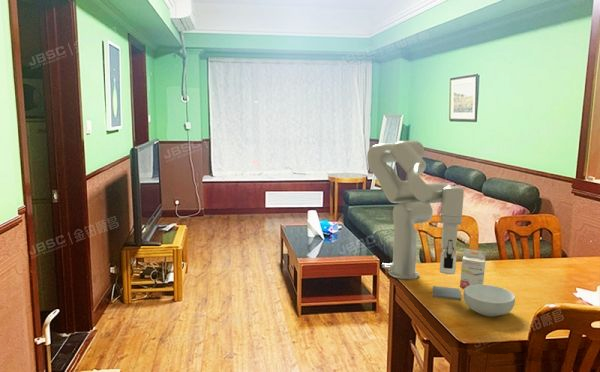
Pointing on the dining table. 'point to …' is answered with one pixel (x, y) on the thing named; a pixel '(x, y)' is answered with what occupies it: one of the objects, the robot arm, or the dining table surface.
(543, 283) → the dining table surface
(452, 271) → the eye dropper bottle
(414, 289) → the dining table surface
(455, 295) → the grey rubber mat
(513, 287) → the dining table surface
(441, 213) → the robot arm
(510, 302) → the cereal bowl
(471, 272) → the ink cartridge box
